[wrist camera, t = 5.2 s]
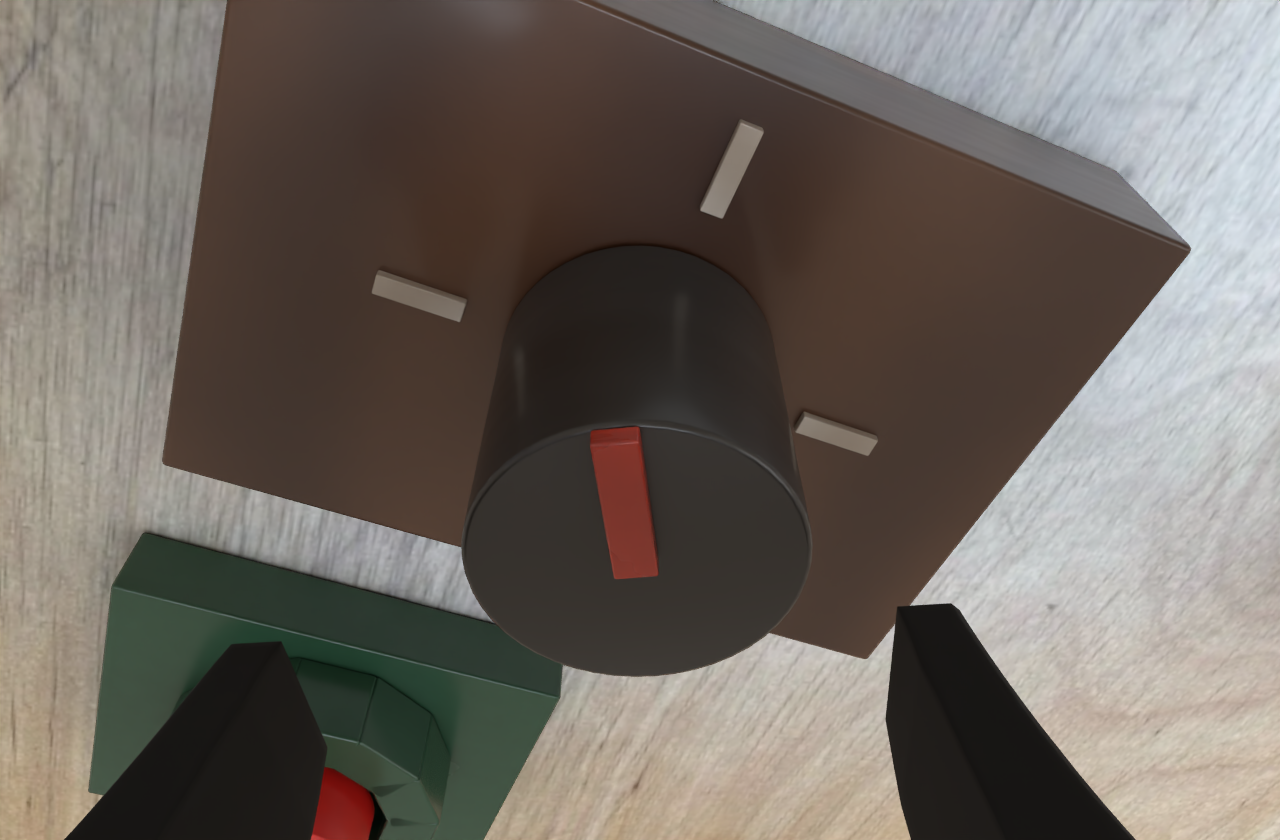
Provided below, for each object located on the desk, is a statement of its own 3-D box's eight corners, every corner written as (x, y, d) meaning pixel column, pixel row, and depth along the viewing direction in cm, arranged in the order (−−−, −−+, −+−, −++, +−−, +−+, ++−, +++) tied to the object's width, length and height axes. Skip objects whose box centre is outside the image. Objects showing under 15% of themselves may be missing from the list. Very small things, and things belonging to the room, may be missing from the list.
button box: (115, 736, 27) (53, 859, 24) (143, 531, 22) (71, 652, 20) (475, 815, 29) (457, 937, 26) (565, 641, 25) (555, 765, 22)
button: (207, 825, 24) (179, 897, 22) (228, 738, 22) (199, 810, 20) (357, 855, 24) (340, 926, 23) (390, 774, 23) (374, 846, 21)
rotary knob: (779, 461, 17) (818, 684, 13) (528, 483, 18) (496, 708, 14) (769, 229, 15) (815, 421, 11) (475, 258, 15) (418, 457, 11)
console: (218, 371, 20) (155, 471, 17) (312, -171, 14) (240, -141, 12) (843, 558, 23) (868, 667, 20) (1118, 171, 17) (1200, 254, 15)
